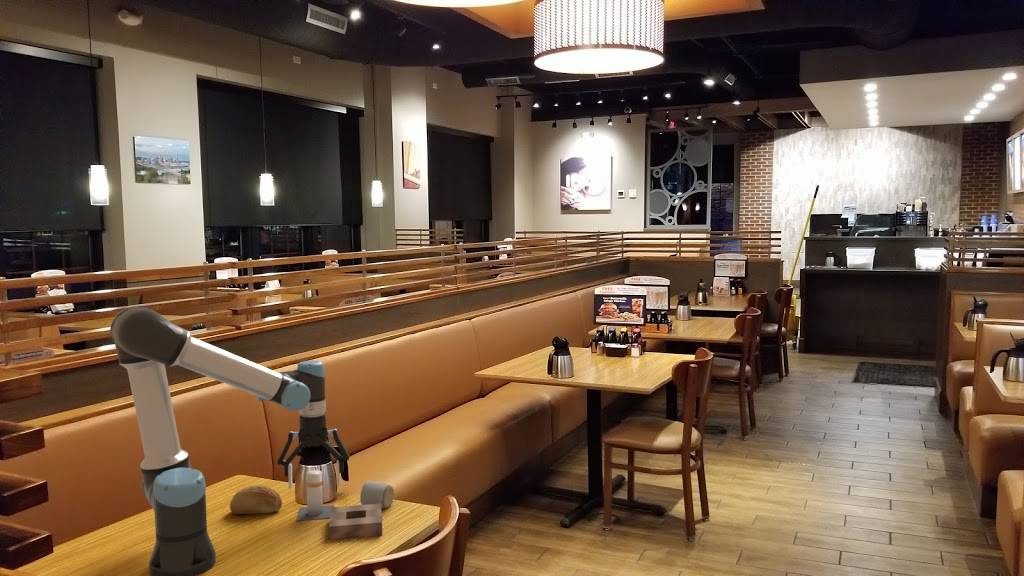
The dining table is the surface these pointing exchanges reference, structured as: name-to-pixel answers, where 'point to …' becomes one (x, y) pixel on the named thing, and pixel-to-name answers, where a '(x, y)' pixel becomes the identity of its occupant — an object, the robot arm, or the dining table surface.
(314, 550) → the dining table surface
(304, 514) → the mat
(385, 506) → the ceramic mug
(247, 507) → the bread roll
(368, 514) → the block
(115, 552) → the dining table surface
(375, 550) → the dining table surface
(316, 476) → the white banded cylinder
